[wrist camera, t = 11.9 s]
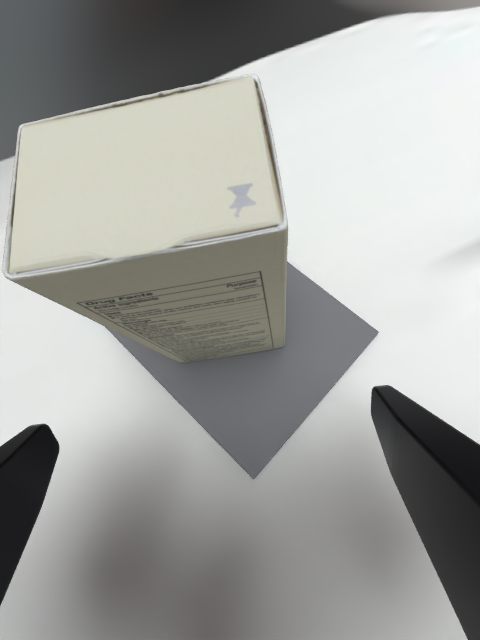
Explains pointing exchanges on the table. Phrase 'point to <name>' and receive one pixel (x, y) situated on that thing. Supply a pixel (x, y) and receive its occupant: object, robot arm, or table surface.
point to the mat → (266, 375)
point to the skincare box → (157, 219)
